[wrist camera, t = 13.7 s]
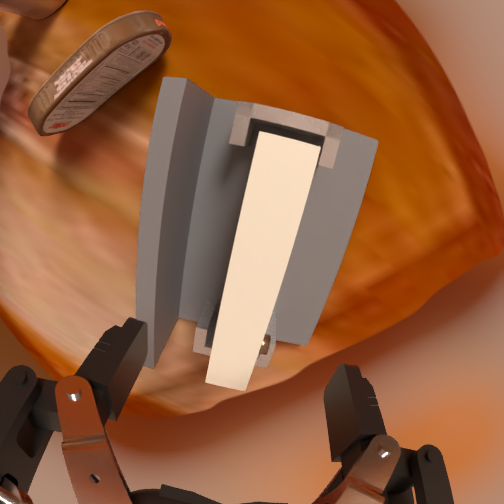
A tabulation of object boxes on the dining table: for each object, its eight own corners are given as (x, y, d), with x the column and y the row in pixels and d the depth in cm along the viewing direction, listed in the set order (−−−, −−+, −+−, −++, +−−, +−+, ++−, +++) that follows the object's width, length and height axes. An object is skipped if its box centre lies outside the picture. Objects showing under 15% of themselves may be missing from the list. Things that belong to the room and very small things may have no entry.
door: (224, 309, 28) (205, 382, 19) (264, 135, 22) (259, 131, 12) (263, 318, 28) (258, 393, 19) (312, 148, 22) (340, 153, 12)
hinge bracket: (167, 305, 30) (135, 362, 22) (199, 97, 22) (159, 76, 13) (305, 337, 31) (313, 402, 22) (372, 140, 22) (423, 143, 14)
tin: (173, 27, 19) (136, -8, 11) (187, 48, 20) (153, 16, 12) (64, 117, 23) (10, 120, 15) (74, 138, 24) (20, 145, 16)
